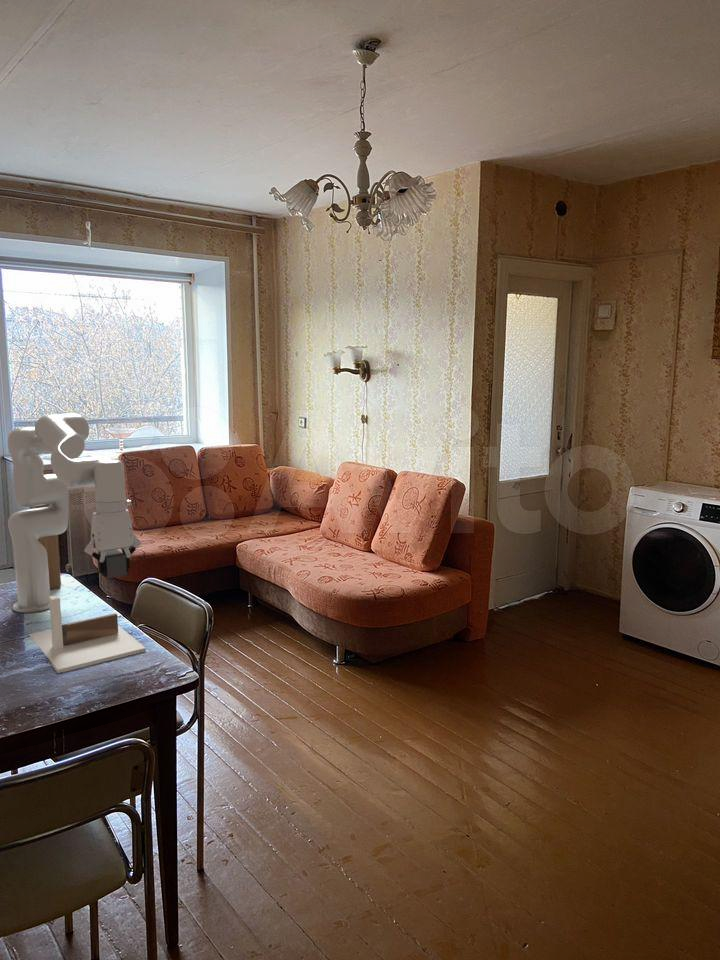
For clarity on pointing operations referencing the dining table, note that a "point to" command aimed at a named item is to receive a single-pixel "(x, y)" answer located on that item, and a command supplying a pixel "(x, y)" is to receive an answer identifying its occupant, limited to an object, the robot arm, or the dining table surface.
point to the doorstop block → (115, 563)
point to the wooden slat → (89, 629)
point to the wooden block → (52, 560)
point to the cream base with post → (81, 645)
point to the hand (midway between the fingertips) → (114, 572)
